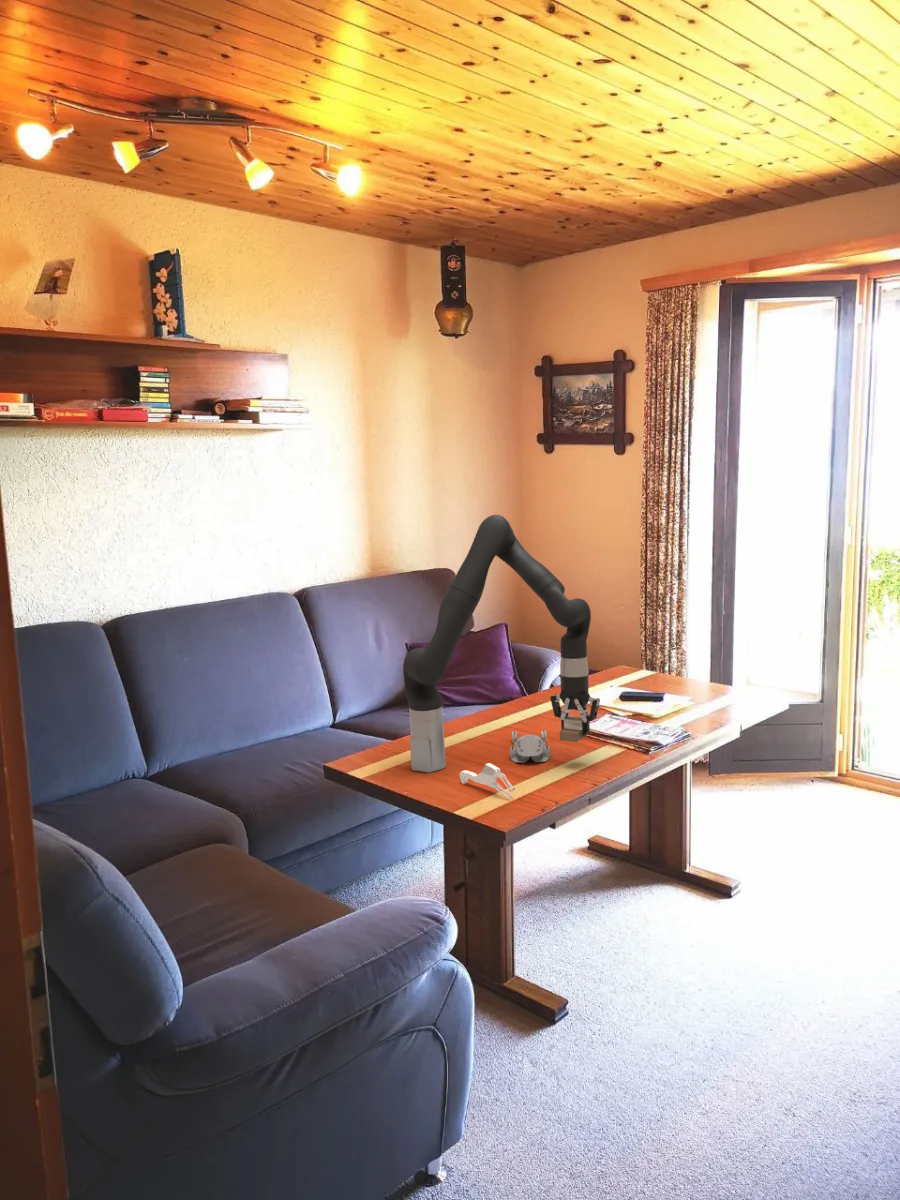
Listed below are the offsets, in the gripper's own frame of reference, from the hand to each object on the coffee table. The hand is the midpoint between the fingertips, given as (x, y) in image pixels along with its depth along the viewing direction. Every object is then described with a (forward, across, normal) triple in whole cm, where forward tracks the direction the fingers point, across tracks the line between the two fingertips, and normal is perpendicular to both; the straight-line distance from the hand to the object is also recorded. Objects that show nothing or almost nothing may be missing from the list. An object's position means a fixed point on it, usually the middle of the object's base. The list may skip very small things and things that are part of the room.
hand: (575, 733), depth 252 cm
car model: (+9, -16, +5) cm, 19 cm away
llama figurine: (+9, -13, -28) cm, 32 cm away
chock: (+1, 0, -2) cm, 2 cm away
